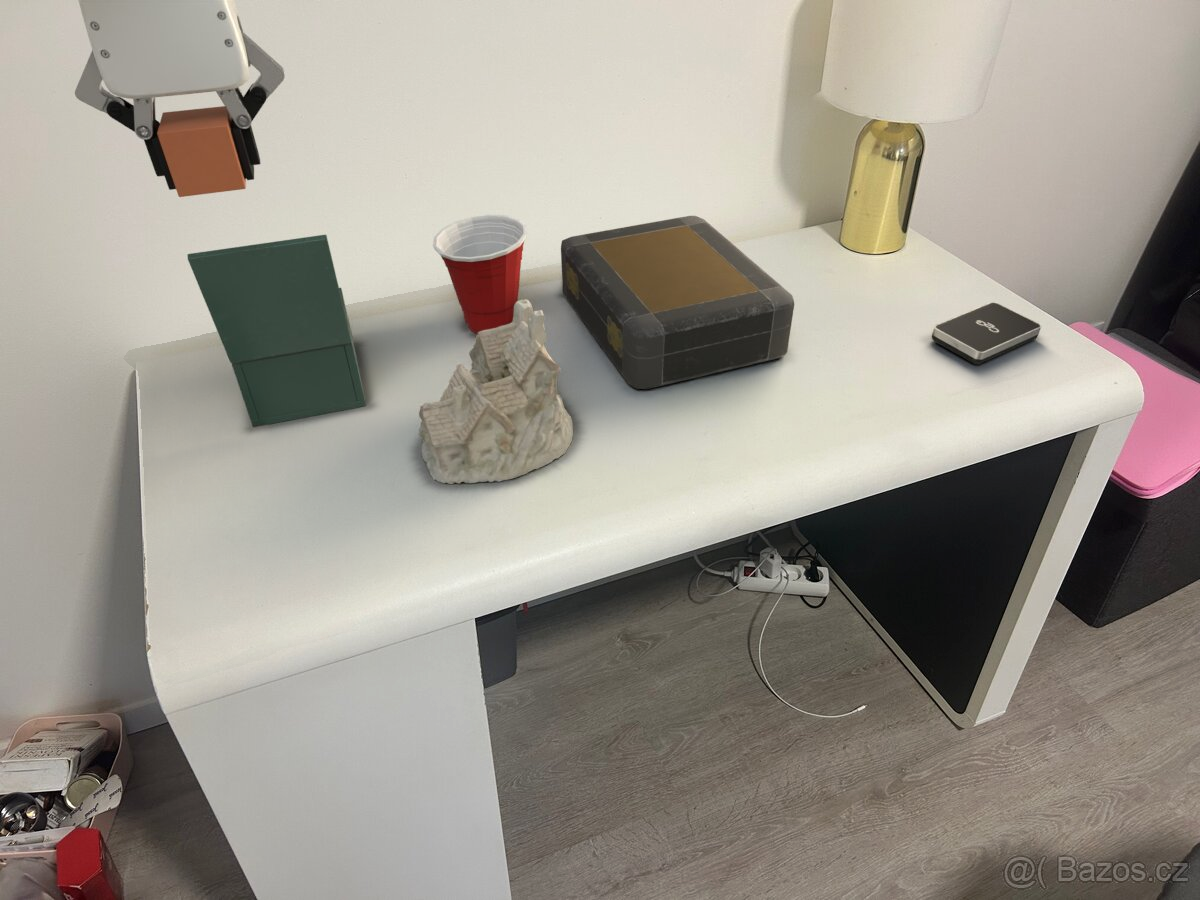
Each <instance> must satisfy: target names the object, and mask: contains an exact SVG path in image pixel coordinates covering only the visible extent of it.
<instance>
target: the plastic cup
mask: <svg viewBox="0 0 1200 900" xmlns="http://www.w3.org/2000/svg"><path fill="white" fill-rule="evenodd" d="M527 235H528V233H527V225H526V224H525V223H524V222H523V221H521V220H520V219H519V218H517V217H516V218H515V217H512V216H509V215H504V214H482V215H476V216H470V217H466V218H463V219H460V220H456V221H454V222H452V223H450V224H449V225H447V226H444V227H443V228H441V229H440V230H439V231H438V233H436V234H435V236H433V242H432V247H433V249H434V250H435V251H436V253H438V255H440V257H441V260H442V261H443V263H444V266H445V267H446V269H447V271H448V274H449V277H450V281H451V283H452V286H453V289H454V292H455V295H456V298H457V301H458V304H459V305H460V307H461V310H462V314H463V317H464V320H465V323H466V324H467V327H468V329H469V330H470V331H471V332H472V333H474V334H478V332H480V331H483V330H488V329H493V328H497V327H500V326H503V325H507V324H510V323H511V322H513V315H514V305H515V303H516V302H517V301H519V291H520V281H521V280H520V278H521V269H522V268H521V267H522V260H523V251H524V244H525V240H526V239H527Z"/></svg>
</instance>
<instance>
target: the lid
mask: <svg viewBox="0 0 1200 900" xmlns="http://www.w3.org/2000/svg"><path fill="white" fill-rule="evenodd" d="M187 262H188V264H189V266H190V268H191V271H192V273H193V275H194V278H195V280H196V282H197V285H198V288H199V290H200V293H201V295H202V298H203V300H204V302H205V305H206V308H207V309H208V312H209V314H210V316H211V319H212V321H213V324H214V326H215V329H216V331H217V333H218V336H219V338H220V341H221V343H222V346H223V349H224V350H225V353H226V356H227V358H228V360H229V363H230V364H232V363H235V362H241V361H247V360H253V359H258V358H264V357H270V356H276V355H282V354H287V353H293V352H299V351H305V350H311V349H316V348H322V347H328V346H334V345H340V344H345V343H351V337H350V333H349V328H348V324H347V320H346V316H345V311H344V307H343V303H342V299H341V294H340V290H339V288H340V287H339V282H338V279H337V278H338V277H337V273H336V268H335V266H334V261H333V257H332V253H331V249H330V244H329V240H328V235H327V234H319V235H312V236H304V237H297V238H291V239H283V240H276V241H270V242H261V243H256V244H248V245H242V246H235V247H227V248H219V249H214V250H207V251H200V252H198V251H197V252H193V253H187Z"/></svg>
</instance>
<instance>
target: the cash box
mask: <svg viewBox="0 0 1200 900" xmlns="http://www.w3.org/2000/svg"><path fill="white" fill-rule="evenodd" d="M560 260H561V261H560V263H561V285H562V287H561V288H562V295H563V296H564V297H565V299H566V300H567V302H568V303H569V304H570V306H571V307H572V309H573V310H574V311H575V312H576V314H577V315H578V317H579V318H580V319H581V321H582V322H583V323H584V325H585V326H586V327H587V329H588V331H589V333H591V335H592V336H593V338H595V340H596V341H597V343H598V344H599V346H600V347H601V349H602V350H603V351H604V353H605V354H606V355H607V356H608V358H609V359H610V361H611V362H612V363H613V364H614V366H615V368H616V369H617V370H618V372H619V373H620V374H621V376H622V378H624V380H625V381H626V383H627V384H629V385H630V386H631V387H632V388H634V389H637V390H649V389H653V388H657V387H661V386H667V385H671V384H675V383H679V382H682V381H683V382H684V381H688V380H692V379H695V378H696V379H697V378H700V377H704V376H705V377H706V376H709V375H713V374H717V373H721V372H726V371H730V370H734V369H738V368H743V367H747V366H751V365H754V364H755V365H756V364H760V363H765V362H768V361H772V360H776V359H781V358H782V357H783V356H785V355H786V354H787V353H788V349H789V342H790V335H791V329H792V324H793V323H792V321H793V316H794V311H795V300H794V296H793V294H791V293H790V292H789V291H788V290H787V289H785V288H784V286H782V284H780V283H778V282H777V281H776V280H775V279H774V278H773V277H772V276H771V275H770V274H769V273H767V272H766V271H765V270H764V269H762V268H761V266H759V265H758V264H757V263H756V262H754V261H753V260H752V259H751V258H750V257H748V256H747V255H746V254H745V253H744V252H743V251H742V250H741V249H739V248H738V247H737V246H736V245H734V244H733V242H731V241H730V240H729V239H728V238H726V237H725V236H724V235H723V234H722V233H720V231H718V230H717V229H716V228H715V227H713V225H712V224H711V223H709V222H708V221H706V220H705V218H702V217H699V216H697V215H687V216H681V217H675V218H674V217H673V218H669V219H664V220H658V221H652V222H646V223H641V224H636V225H635V224H634V225H629V226H623V227H617V228H612V229H605V230H601V231H596V232H590V233H584V234H579V235H574V236H570V237H567V238H565V239H562V240H561V244H560Z"/></svg>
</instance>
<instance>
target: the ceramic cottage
mask: <svg viewBox="0 0 1200 900" xmlns="http://www.w3.org/2000/svg"><path fill="white" fill-rule="evenodd" d="M544 321H545V313H544V312H543V309H539V310H535V311H534V309H533V305H532V304H531V302H530V301H529V299H526V298H524V299H520V300H519V299H518V301H517V302H516V303H515V305H514V315H513V322H511V323H510V324H507V325H503V326H500V327H497V328H493V329H488V330H483V331H480V332H478V334H477V333H476V334H477V335H476V336H475V340H474V344H473V346H472V349H470V351H469V353H468V355H469V357H470V360H471V362H472V363H471V369H470V370H468V369H467V368H466V367H465V366H464V364H462V363H459V364H456V370H453V375H452V376H451V377H450V378H449V380H448V383H449V384H448V385H447V388H445V389H444V391H443V392H442V396H441V397H440V399H439V400H438V401H435V402H424V403H423V404H422V405H421V406H419V411H418V416H419V419H421V422H420V427H419V429H418V432H419V433H418V436H419V438H421V441H422V444H421V450H420V451H421V452H420V453H421V458H422V460H423V462H424V463H425V464H426V467H427V470H428V472H429V475H430V476H431V477H432V479H433V481H435V480H436V481H437V482H439V483H442V484H446V483H447V484H448V485H449V484H450V485H453V484H455V483H456V484H461V483H465V484H475V483H484V482H486V483H487V482H488V483H493V482H497V483H499V482H502V481H508V480H511V479H516V478H518V477H520V476H523V475H528V474H529V472H532V471H534V470H539V469H540V468H543V467H545V466H547V465H548V464H550V463H553V461H554V460H555V459H556V460H558V458H561V456H563V455H565V454H566V452H567V451H568V449H569V447H570V445H571V443H572V441H573V436H574V424H573V420H572V416H571V415H570V414H569V412H568V410H567V409H565V405H564V401H563V398H562V396H561V395H560V394H559V393H558V377H559V375H560V374H561V372H562V370H561V367H560V365H559V364H558V363H557V362H555V361H554V360H553V358H552V357H551V355H550V354H549V353H548V351H547V348H546V347H545V343H546V340H547V333H546V329H545V328H546V327H545V325H544Z"/></svg>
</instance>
